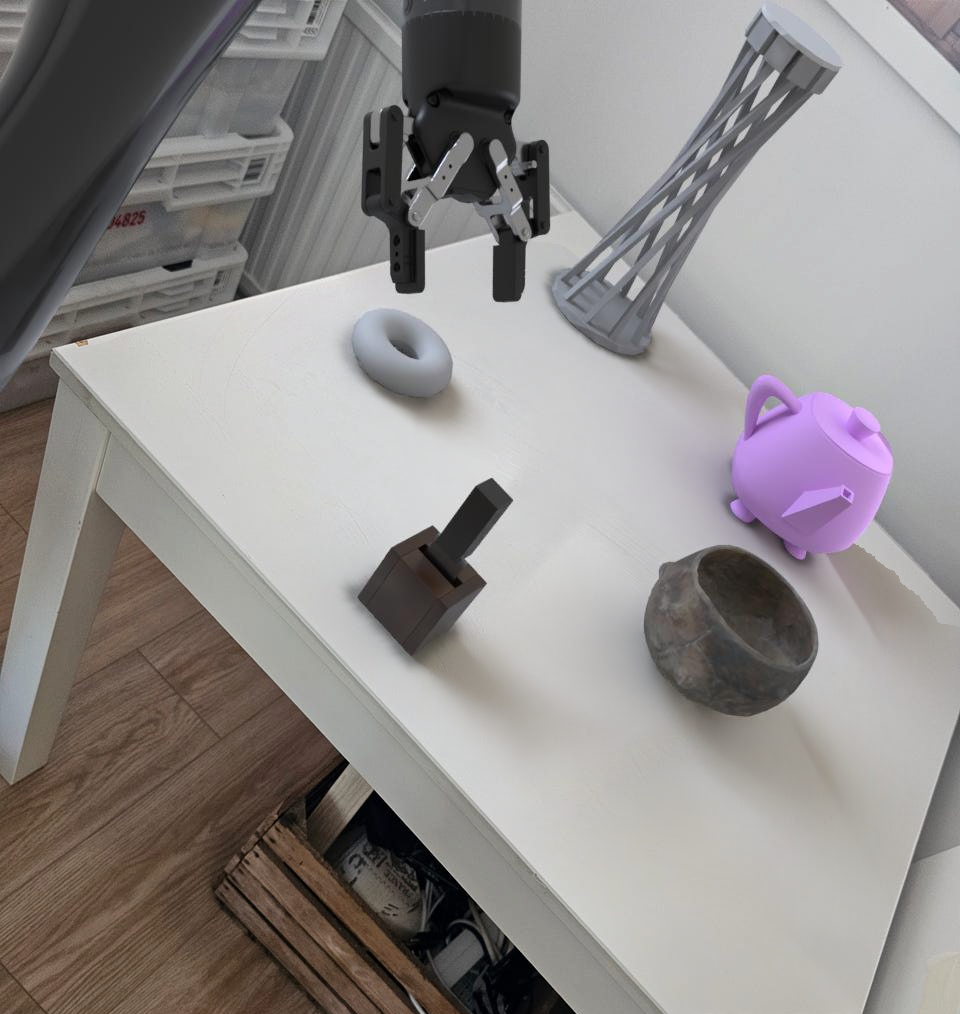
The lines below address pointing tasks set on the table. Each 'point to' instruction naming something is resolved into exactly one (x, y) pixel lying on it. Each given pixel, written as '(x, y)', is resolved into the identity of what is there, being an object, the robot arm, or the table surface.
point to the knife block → (418, 593)
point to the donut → (393, 368)
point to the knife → (467, 528)
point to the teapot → (809, 468)
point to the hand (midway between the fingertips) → (460, 297)
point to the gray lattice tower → (697, 180)
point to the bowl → (729, 631)
